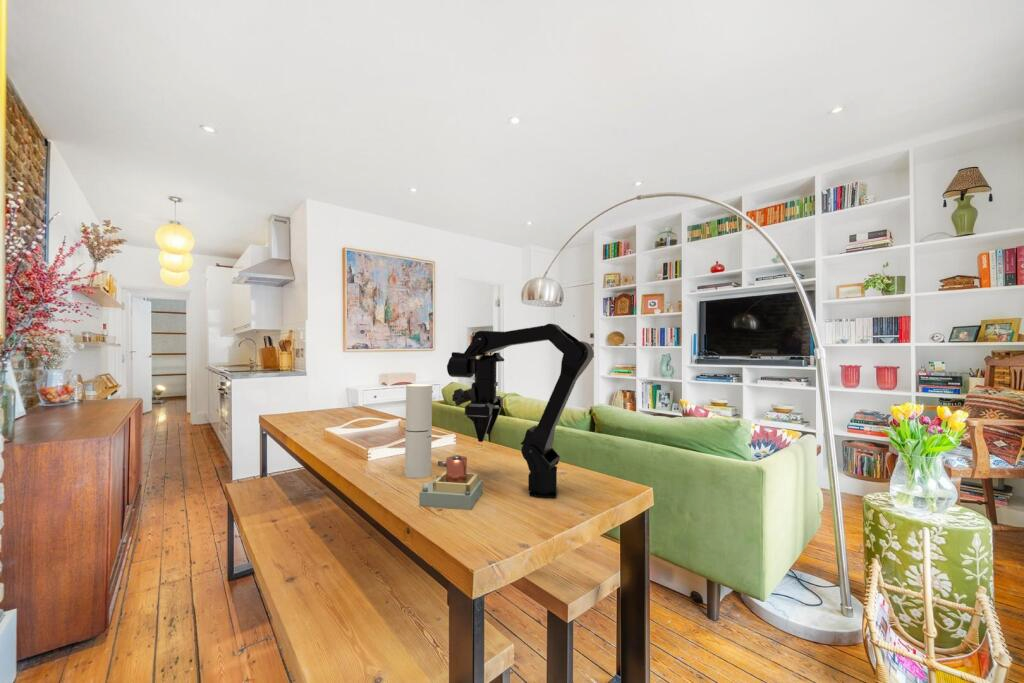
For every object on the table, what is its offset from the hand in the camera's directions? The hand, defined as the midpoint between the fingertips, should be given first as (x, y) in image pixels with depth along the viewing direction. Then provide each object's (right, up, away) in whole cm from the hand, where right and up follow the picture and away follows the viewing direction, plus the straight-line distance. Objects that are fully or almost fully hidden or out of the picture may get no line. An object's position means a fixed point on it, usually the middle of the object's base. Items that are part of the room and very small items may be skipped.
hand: (484, 437), depth 108 cm
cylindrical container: (-19, -12, +7) cm, 24 cm away
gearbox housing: (-7, -12, -11) cm, 18 cm away
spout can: (-7, -9, -11) cm, 16 cm away
